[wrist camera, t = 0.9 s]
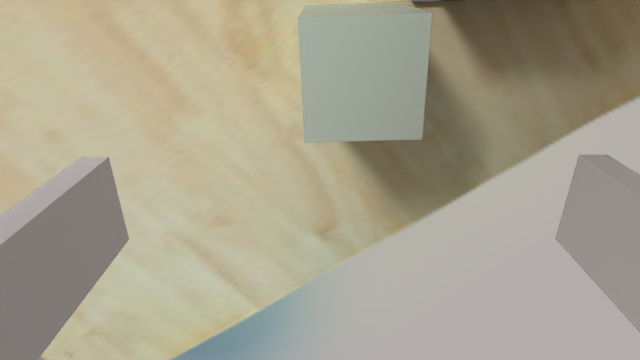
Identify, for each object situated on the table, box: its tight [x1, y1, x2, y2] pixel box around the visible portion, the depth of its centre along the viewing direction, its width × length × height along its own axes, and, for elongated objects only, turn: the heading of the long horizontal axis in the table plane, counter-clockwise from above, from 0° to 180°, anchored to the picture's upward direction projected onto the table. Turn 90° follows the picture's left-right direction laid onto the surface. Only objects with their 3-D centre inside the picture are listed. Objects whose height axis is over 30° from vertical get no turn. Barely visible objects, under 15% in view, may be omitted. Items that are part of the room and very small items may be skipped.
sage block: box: [298, 2, 432, 143], centre depth 24 cm, size 6×6×10 cm
